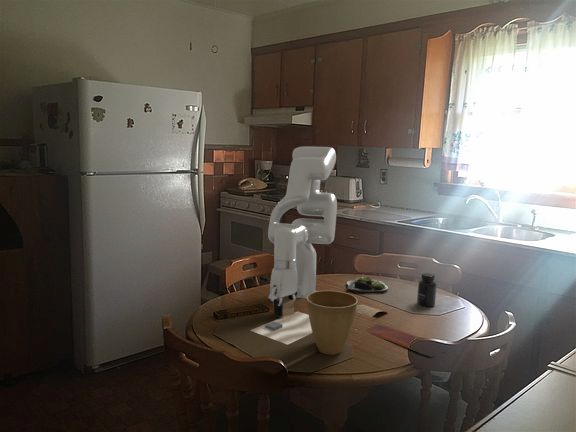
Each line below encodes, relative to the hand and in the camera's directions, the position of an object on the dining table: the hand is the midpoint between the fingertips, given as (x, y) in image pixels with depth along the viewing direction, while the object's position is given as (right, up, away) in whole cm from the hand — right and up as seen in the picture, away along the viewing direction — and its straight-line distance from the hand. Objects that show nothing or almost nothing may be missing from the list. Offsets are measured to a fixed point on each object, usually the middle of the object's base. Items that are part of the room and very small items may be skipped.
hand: (284, 312), depth 165 cm
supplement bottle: (+55, 0, +17) cm, 58 cm away
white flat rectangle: (+3, -3, -10) cm, 11 cm away
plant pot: (+14, -6, -25) cm, 29 cm away
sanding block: (0, -1, 0) cm, 1 cm away
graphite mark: (-3, -2, -12) cm, 12 cm away
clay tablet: (+30, -2, +6) cm, 31 cm away
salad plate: (+35, +2, +37) cm, 51 cm away
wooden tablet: (+38, -6, -16) cm, 42 cm away
